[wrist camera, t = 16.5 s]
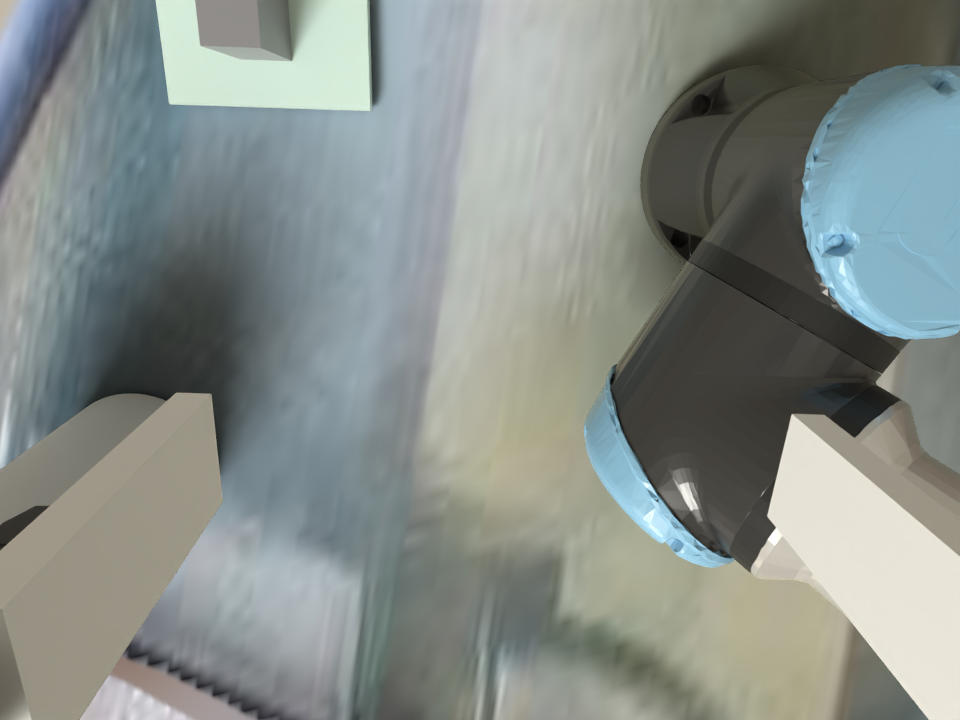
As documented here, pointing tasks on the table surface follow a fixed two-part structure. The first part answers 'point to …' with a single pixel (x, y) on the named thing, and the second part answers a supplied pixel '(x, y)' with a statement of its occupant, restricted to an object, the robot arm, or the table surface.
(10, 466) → the cylinder vase
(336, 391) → the table surface
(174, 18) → the lid
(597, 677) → the table surface
